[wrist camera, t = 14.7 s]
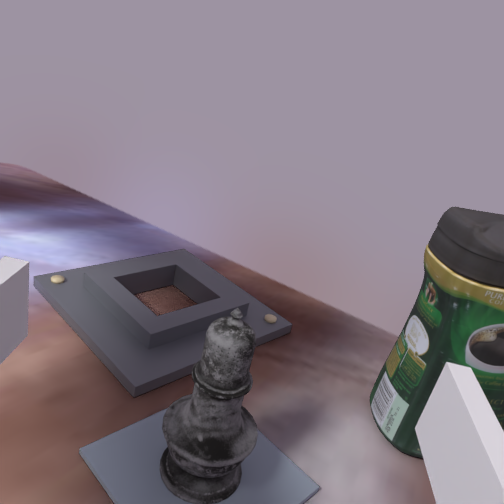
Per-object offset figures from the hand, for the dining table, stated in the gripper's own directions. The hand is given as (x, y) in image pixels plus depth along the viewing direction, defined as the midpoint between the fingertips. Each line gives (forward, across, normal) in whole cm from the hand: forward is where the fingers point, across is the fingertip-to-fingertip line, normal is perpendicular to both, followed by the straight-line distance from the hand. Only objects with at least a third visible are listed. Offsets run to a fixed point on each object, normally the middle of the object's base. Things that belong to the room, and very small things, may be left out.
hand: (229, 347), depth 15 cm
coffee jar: (+19, +17, -17) cm, 31 cm away
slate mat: (+10, 0, -17) cm, 20 cm away
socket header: (+28, -7, -17) cm, 33 cm away
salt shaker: (+10, 0, -17) cm, 19 cm away
